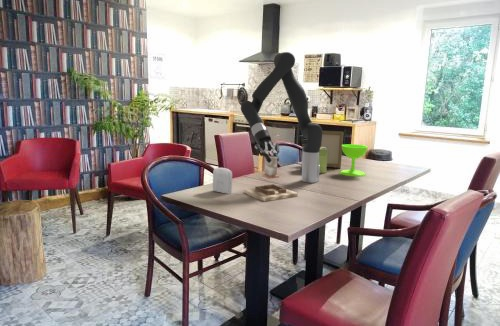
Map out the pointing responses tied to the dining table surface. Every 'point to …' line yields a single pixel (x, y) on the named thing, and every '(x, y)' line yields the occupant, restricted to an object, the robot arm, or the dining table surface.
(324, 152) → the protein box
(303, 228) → the dining table surface
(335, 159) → the photo frame
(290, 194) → the cradle board
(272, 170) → the bobbin
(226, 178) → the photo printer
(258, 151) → the robot arm
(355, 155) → the wineglass
